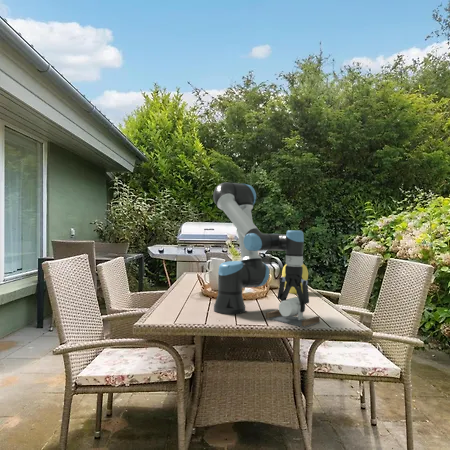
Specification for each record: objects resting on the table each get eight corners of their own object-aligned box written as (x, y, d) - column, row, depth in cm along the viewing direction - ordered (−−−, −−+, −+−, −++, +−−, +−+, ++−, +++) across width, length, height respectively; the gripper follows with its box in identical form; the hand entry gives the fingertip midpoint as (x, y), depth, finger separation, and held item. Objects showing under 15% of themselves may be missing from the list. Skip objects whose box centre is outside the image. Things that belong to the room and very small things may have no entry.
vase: (292, 289, 265) (294, 246, 265) (313, 293, 253) (314, 248, 253) (276, 291, 255) (277, 246, 254) (296, 295, 242) (297, 248, 242)
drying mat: (265, 318, 181) (265, 317, 181) (281, 314, 190) (281, 313, 190) (304, 327, 167) (304, 326, 167) (319, 322, 176) (319, 321, 176)
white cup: (295, 313, 171) (308, 310, 178) (287, 296, 173) (300, 293, 181) (282, 320, 175) (294, 317, 182) (274, 303, 178) (287, 301, 185)
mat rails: (265, 317, 181) (266, 312, 181) (281, 313, 190) (281, 309, 190) (304, 326, 167) (304, 321, 167) (319, 321, 176) (319, 316, 176)
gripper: (270, 263, 183) (268, 314, 183) (309, 268, 169) (307, 323, 169) (279, 262, 188) (278, 312, 188) (319, 267, 174) (317, 320, 174)
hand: (292, 317), depth 179 cm, fingers closed on white cup, 7 cm apart
